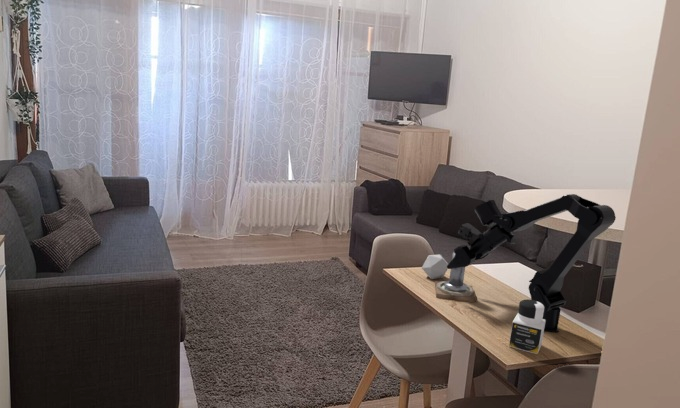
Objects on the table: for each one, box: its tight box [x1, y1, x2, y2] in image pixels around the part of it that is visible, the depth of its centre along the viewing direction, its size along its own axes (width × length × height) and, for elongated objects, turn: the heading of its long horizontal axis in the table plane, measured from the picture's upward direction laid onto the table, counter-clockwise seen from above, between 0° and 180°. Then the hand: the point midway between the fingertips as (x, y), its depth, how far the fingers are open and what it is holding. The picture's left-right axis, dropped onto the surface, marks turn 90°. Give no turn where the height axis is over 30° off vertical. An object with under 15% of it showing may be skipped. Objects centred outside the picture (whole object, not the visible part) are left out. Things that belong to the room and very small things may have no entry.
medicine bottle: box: [508, 299, 546, 355], centre depth 143 cm, size 7×7×12 cm
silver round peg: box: [444, 251, 468, 293], centre depth 177 cm, size 7×7×12 cm
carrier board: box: [434, 280, 477, 303], centre depth 179 cm, size 12×12×2 cm
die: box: [421, 253, 449, 280], centre depth 192 cm, size 8×9×10 cm
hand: (453, 264), depth 178 cm, fingers open, 9 cm apart
